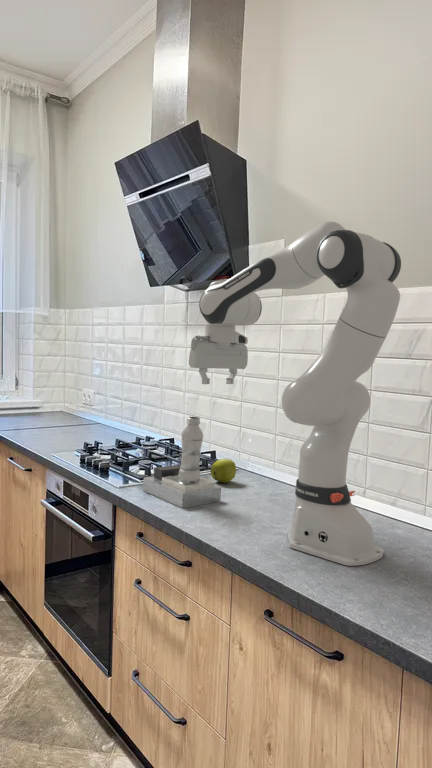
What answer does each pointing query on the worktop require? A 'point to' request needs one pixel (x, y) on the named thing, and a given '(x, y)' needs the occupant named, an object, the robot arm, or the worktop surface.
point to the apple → (223, 470)
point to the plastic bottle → (191, 452)
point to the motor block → (180, 488)
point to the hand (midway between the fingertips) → (218, 384)
